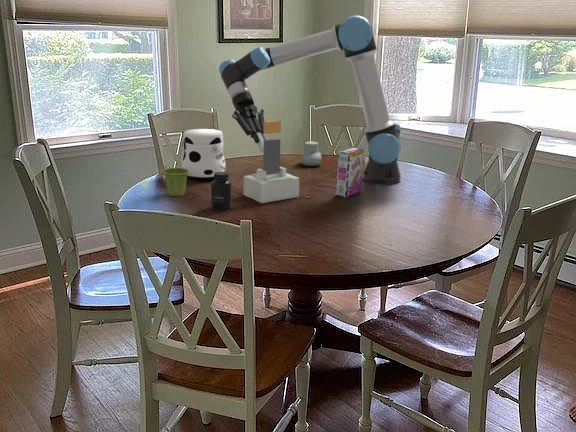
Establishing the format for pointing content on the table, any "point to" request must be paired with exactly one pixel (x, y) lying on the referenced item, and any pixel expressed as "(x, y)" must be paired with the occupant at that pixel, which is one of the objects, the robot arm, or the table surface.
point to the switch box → (271, 186)
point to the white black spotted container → (203, 153)
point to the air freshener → (311, 154)
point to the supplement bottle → (221, 191)
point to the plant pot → (176, 180)
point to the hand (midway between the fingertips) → (263, 149)
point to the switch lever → (272, 148)
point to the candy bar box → (349, 172)
